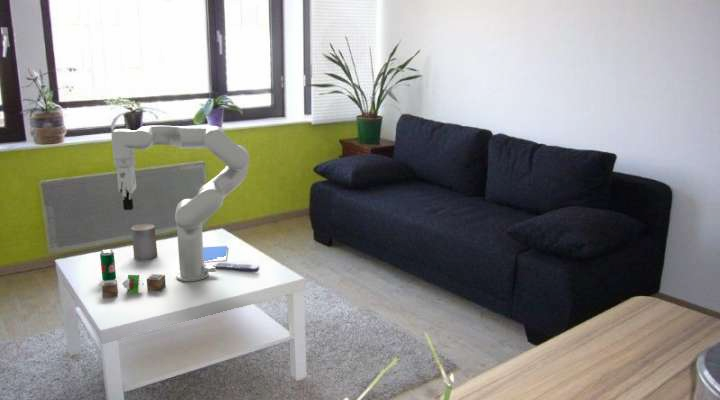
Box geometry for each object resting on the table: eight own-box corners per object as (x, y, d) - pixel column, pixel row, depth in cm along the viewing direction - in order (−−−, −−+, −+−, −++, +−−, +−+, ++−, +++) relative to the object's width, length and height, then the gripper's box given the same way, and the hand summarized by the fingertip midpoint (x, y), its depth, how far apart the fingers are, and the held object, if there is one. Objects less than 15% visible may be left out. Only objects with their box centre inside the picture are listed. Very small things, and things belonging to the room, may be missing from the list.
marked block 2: (165, 287, 246) (164, 274, 245) (160, 292, 242) (159, 278, 240) (153, 286, 247) (152, 273, 246) (147, 291, 242) (146, 278, 241)
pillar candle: (148, 251, 287) (145, 219, 283) (162, 255, 281) (159, 223, 278) (129, 257, 279) (125, 224, 276) (143, 262, 274) (139, 228, 270)
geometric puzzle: (129, 281, 246) (123, 269, 240) (147, 281, 246) (141, 270, 240) (124, 297, 242) (118, 286, 235) (142, 297, 241) (136, 286, 235)
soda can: (111, 282, 250) (108, 253, 247) (99, 281, 251) (97, 252, 248) (118, 278, 255) (116, 249, 252) (107, 277, 256) (104, 248, 253)
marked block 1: (117, 292, 241) (116, 278, 240) (117, 296, 237) (116, 283, 236) (103, 293, 240) (102, 280, 239) (102, 298, 235) (101, 285, 234)
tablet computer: (227, 262, 275) (226, 259, 275) (196, 264, 273) (196, 261, 273) (228, 248, 294) (228, 245, 293) (200, 249, 292) (199, 247, 291)
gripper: (130, 165, 234) (134, 214, 239) (138, 158, 249) (142, 204, 253) (109, 166, 233) (113, 214, 238) (118, 158, 248) (122, 204, 252)
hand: (128, 209), depth 246 cm, fingers closed
